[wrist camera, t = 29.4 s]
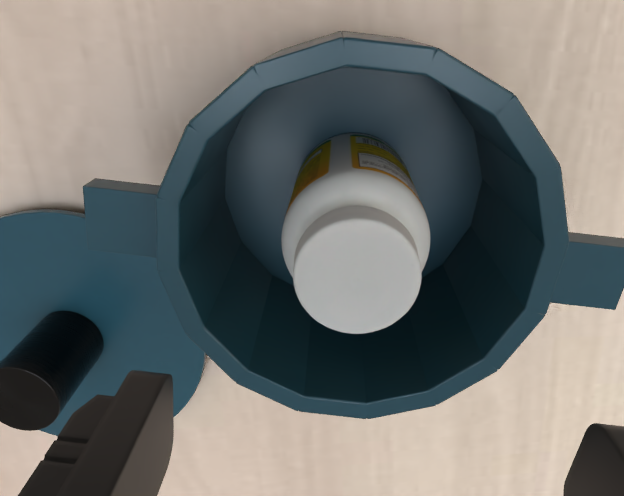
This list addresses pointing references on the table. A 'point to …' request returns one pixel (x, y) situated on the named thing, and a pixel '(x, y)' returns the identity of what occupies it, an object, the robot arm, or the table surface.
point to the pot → (433, 195)
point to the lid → (80, 322)
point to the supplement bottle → (355, 235)
